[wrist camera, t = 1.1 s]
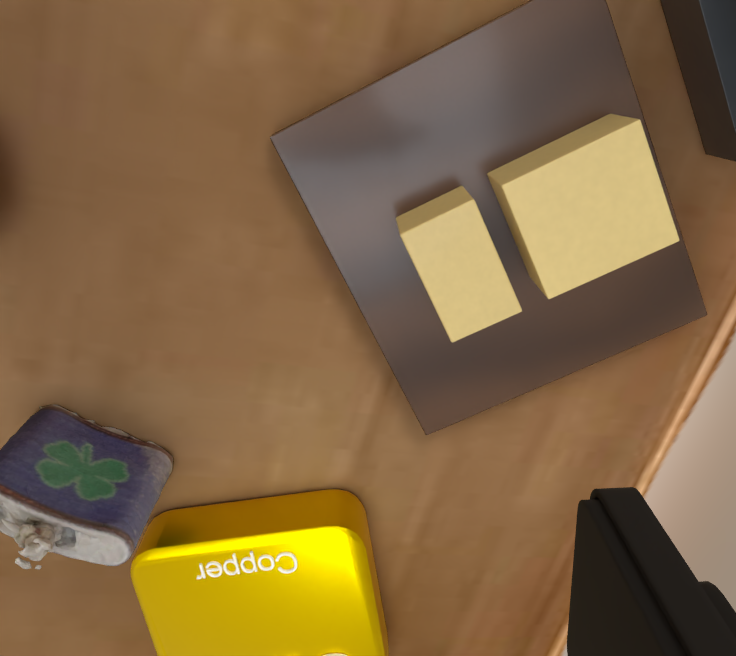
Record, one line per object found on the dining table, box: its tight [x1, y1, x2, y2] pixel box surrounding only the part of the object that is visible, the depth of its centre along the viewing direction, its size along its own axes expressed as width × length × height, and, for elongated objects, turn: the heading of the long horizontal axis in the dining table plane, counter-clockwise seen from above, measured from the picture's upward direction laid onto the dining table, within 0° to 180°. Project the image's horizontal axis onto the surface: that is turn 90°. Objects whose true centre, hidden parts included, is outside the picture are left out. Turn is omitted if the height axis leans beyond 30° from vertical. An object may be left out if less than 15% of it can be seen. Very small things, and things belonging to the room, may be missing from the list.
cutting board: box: [270, 0, 707, 435], centre depth 38 cm, size 20×18×2 cm
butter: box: [487, 114, 679, 299], centre depth 35 cm, size 6×7×4 cm
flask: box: [0, 405, 173, 570], centre depth 39 cm, size 9×3×11 cm, turn 64°
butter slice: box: [396, 186, 522, 342], centre depth 36 cm, size 6×4×4 cm, turn 26°
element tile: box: [130, 489, 389, 656], centre depth 46 cm, size 15×15×5 cm
